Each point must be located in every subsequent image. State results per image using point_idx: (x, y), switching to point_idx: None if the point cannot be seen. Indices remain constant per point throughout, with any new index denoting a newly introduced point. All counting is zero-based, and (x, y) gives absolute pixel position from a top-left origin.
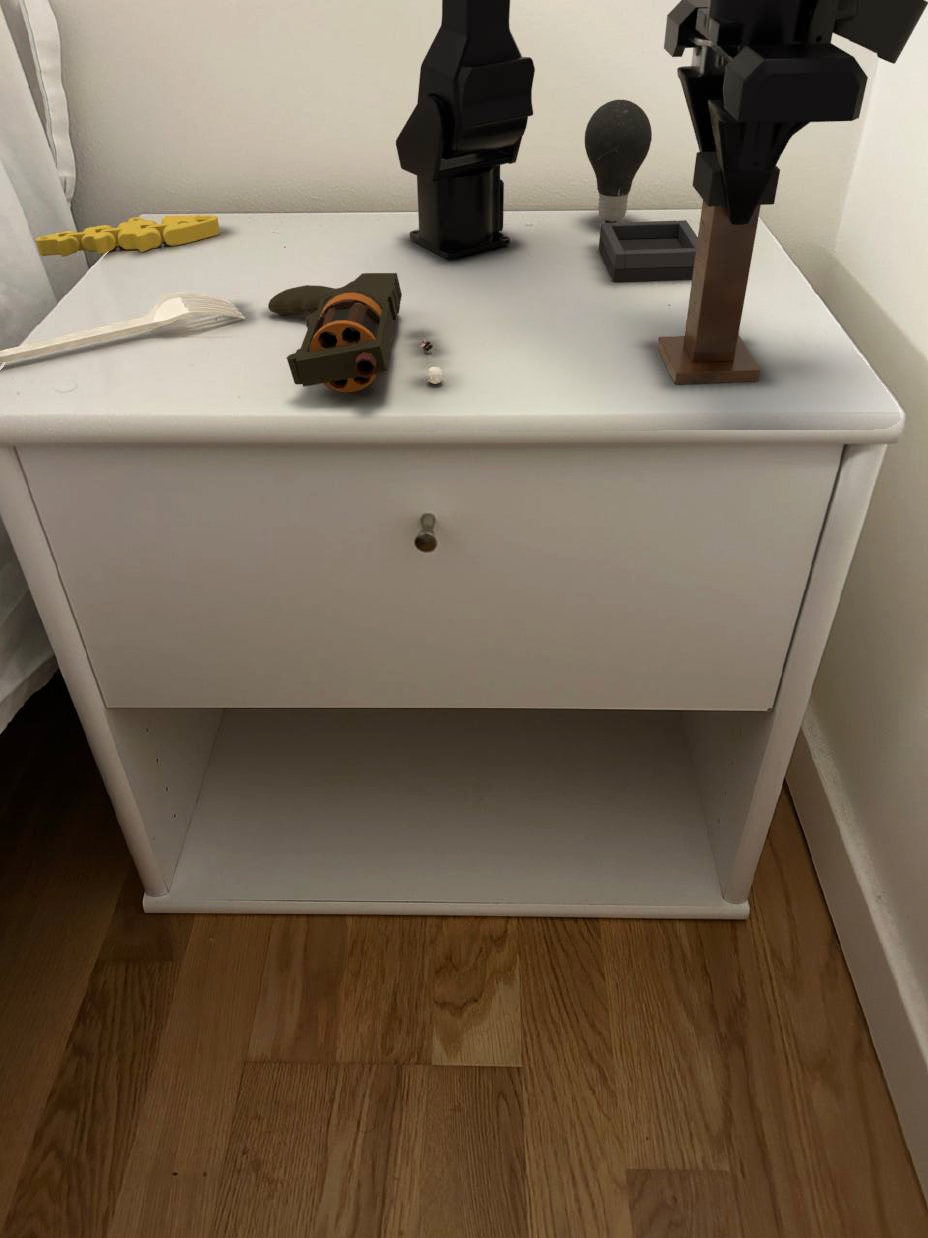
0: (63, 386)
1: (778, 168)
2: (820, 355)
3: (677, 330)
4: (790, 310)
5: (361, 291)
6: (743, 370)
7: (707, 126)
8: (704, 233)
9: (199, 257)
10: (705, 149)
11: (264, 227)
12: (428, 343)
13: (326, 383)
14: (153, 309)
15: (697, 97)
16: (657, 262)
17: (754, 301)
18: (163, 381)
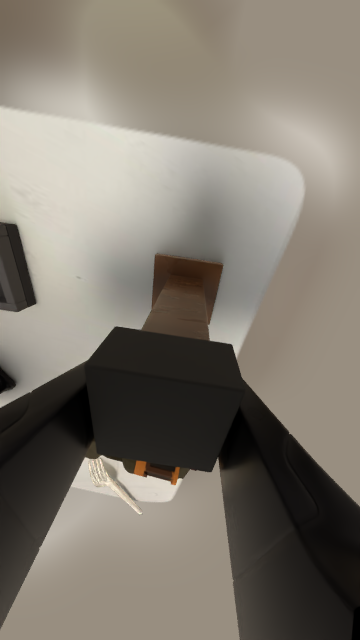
0: (152, 494)
1: (239, 392)
2: (191, 180)
3: (125, 288)
4: (86, 160)
5: (131, 468)
6: (219, 278)
7: (58, 496)
8: None
9: None
10: (88, 446)
11: None
12: None
13: None
14: (104, 485)
15: (1, 607)
16: (15, 274)
17: (65, 193)
18: (154, 478)
